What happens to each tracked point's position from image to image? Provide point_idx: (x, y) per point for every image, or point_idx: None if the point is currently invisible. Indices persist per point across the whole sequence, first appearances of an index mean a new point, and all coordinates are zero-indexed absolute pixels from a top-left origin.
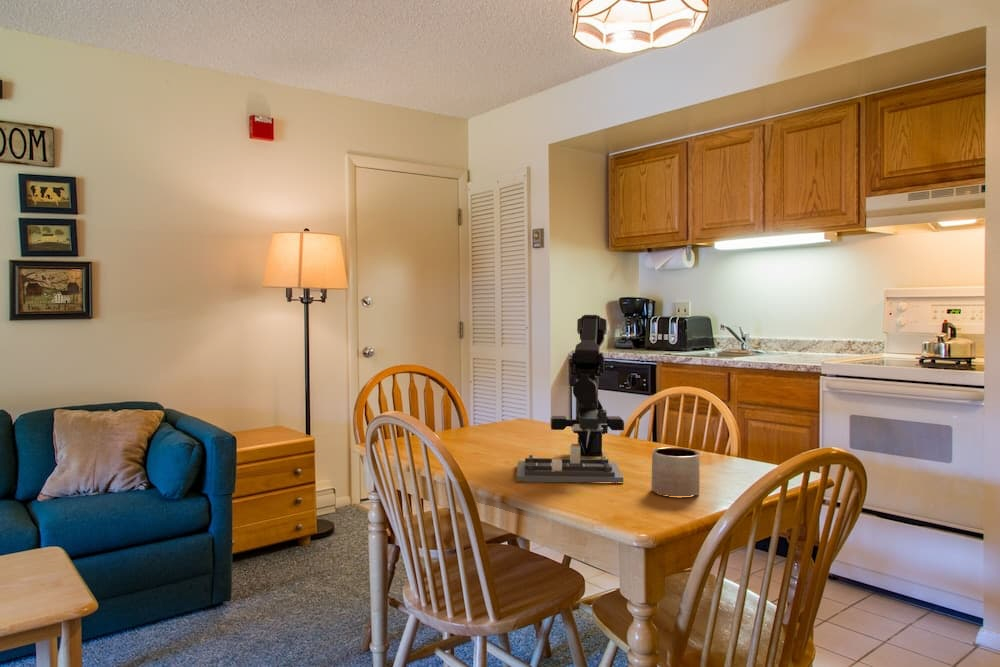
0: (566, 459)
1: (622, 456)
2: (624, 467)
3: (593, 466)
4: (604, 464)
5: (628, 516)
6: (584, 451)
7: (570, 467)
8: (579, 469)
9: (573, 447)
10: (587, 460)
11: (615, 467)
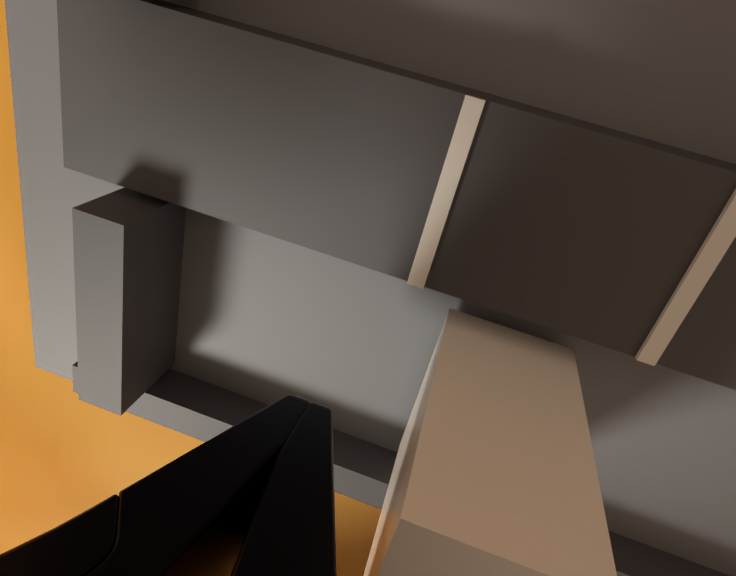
0: None
1: None
2: (3, 327)
3: (321, 73)
4: None
5: None
6: (323, 452)
7: (708, 163)
8: (551, 113)
9: (560, 558)
10: None
11: (44, 161)
